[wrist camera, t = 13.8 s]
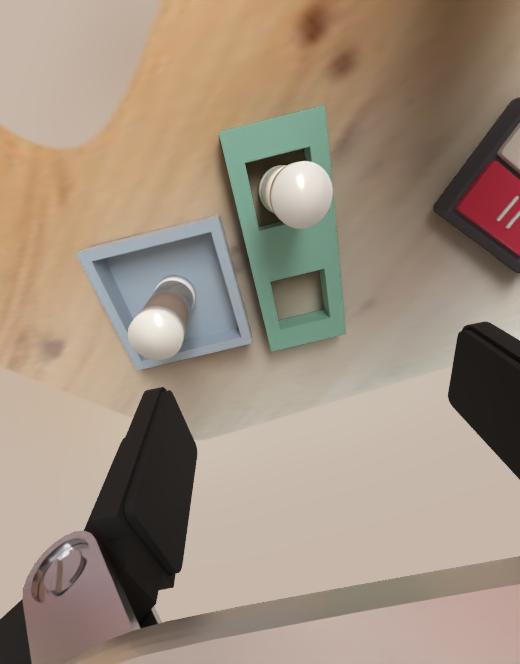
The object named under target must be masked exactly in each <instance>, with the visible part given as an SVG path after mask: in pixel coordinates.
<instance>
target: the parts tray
mask: <svg viewBox="0 0 520 664" xmlns="http://www.w3.org/2000/svg"><path fill="white" fill-rule="evenodd" d="M76 255H77V257H78V259H79V261H80V263H81V265H82V267H83V269H84V270H85V272H86V274H87V276H88V278H89V280H90V282H91V284H92V286H93V288H94V290H95V292H96V294H97V295H98V297H99V299H100V301H101V303H102V305H103V307H104V309H105V311H106V313H107V315H108V317H109V319H110V321H111V322H112V324H113V326H114V328H115V330H116V332H117V334H118V336H119V338H120V340H121V342H122V344H123V346H124V348H125V349H126V351H127V353H128V355H129V357H130V359H131V361H132V363H133V365H134V367H135V369H136V371H138V370H142V369H146V368H150V367H155V366H159V365H163V364H167V363H171V362H176V361H180V360H184V359H188V358H192V357H197V356H201V355H205V354H209V353H213V352H218V351H222V350H226V349H230V348H234V347H239V346H243V345H247V344H251V343H252V336H251V329H250V325H249V321H248V317H247V314H246V310H245V306H244V303H243V299H242V295H241V291H240V288H239V284H238V280H237V276H236V273H235V269H234V265H233V261H232V258H231V254H230V250H229V247H228V243H227V239H226V235H225V232H224V228H223V224H222V220H221V217H220V214H218V215H214V216H210V217H206V218H202V219H198V220H194V221H190V222H186V223H182V224H178V225H174V226H170V227H166V228H162V229H158V230H154V231H150V232H146V233H142V234H138V235H134V236H130V237H126V238H122V239H118V240H114V241H110V242H106V243H102V244H98V245H94V246H91V247H88V248H86V249H84V250H82V251H80V252H78V253H76ZM171 275H178V276H182V277H184V278H186V279H187V280H189V281H190V282H191V283H192V285H193V286H194V288H195V291H196V299H195V303H194V306H193V308H192V310H191V312H190V316H189V319H188V322H187V325H186V329H185V336H184V339H183V343H182V346H181V348H180V350H179V351H178V352H177V353H176V354H175V355H174V356H172V357H170V358H168V359H164V360H153V359H148V358H146V357H143V356H142V355H140V354H138V353H137V352H136V351H135V350H134V349H133V348H132V346H131V345H130V343H129V340H128V328H129V326H130V324H131V322H132V321H133V319H134V318H135V317H136V315H137V314H138V313H139V312H140V311H141V310H142V309H143V307H144V306H145V304H146V303H147V302H148V300H149V299H150V297H151V296H152V294H153V293H154V290H155V288H156V287H157V285H158V284H159V282H160V281H161V280H162V279H164V278H165V277H167V276H171Z"/></svg>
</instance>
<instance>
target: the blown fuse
mask: <svg viewBox="0 0 520 664" xmlns="http://www.w3.org/2000/svg"><path fill="white" fill-rule="evenodd" d="M195 299H196V291H195V288H194V286H193V285H192V283H191V282H190V281H189V280H187V279H186V278H184V277H182V276H178V275H171V276H167V277H165V278H164V279H162V280H161V281H160V282H159V284H158V285H157V287H156V288H155V290H154V293H153V294H152V296H151V297H150V299H149V300H148V302H147V303H146V304H145V306H144V307H143V309H142V310H141V311H140V312H139V313H138V314H137V315H136V317H135V318H134V319H133V321H132V322H131V324H130V326H129V328H128V340H129V343H130V345H131V346H132V348H133V349H134V350H135V351H136V352H137V353H138V354H140V355H142V356H143V357H146V358H148V359H153V360H164V359H168V358H170V357H172V356H174V355H175V354H176V353H177V352H178V351H179V350H180V348H181V346H182V343H183V339H184V336H185V329H186V325H187V322H188V319H189V316H190V312H191V310H192V308H193V306H194V303H195Z"/></svg>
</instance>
